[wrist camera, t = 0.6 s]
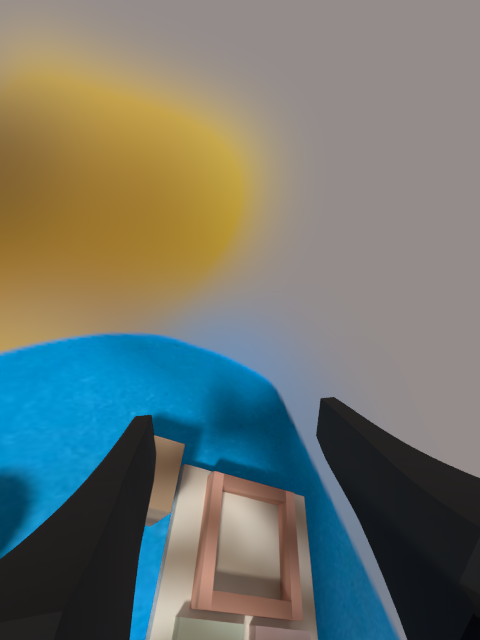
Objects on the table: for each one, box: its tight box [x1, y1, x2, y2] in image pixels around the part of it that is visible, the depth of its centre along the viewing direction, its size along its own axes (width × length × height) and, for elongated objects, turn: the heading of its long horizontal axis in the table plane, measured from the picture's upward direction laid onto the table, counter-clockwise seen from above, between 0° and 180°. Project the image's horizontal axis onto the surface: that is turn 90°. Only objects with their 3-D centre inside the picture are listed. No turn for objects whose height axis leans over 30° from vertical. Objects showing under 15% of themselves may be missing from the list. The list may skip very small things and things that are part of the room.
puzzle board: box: [146, 464, 318, 640], centre depth 23 cm, size 15×14×2 cm
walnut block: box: [145, 435, 185, 526], centre depth 23 cm, size 5×5×5 cm
